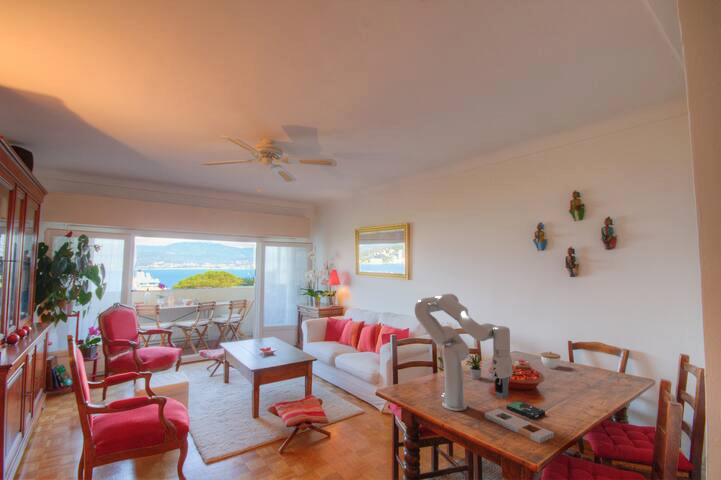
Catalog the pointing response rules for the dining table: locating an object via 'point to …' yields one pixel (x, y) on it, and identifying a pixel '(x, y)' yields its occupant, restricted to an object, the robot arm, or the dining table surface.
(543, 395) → the dining table surface
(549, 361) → the lidded bowl
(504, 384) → the steel block
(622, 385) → the dining table surface
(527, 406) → the disk drive
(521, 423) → the grey slotted board
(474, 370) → the house plant
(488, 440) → the dining table surface
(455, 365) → the robot arm
